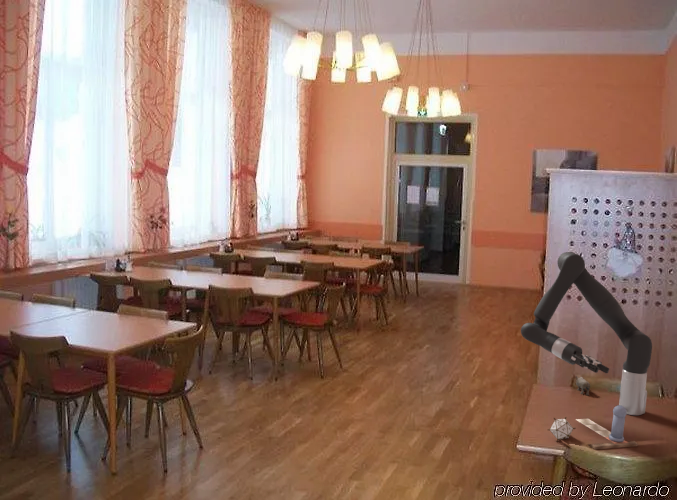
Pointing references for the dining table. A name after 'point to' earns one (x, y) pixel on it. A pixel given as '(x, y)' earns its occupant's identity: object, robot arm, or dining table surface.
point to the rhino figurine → (582, 385)
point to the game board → (605, 434)
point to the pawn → (618, 424)
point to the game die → (561, 428)
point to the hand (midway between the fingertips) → (603, 370)
